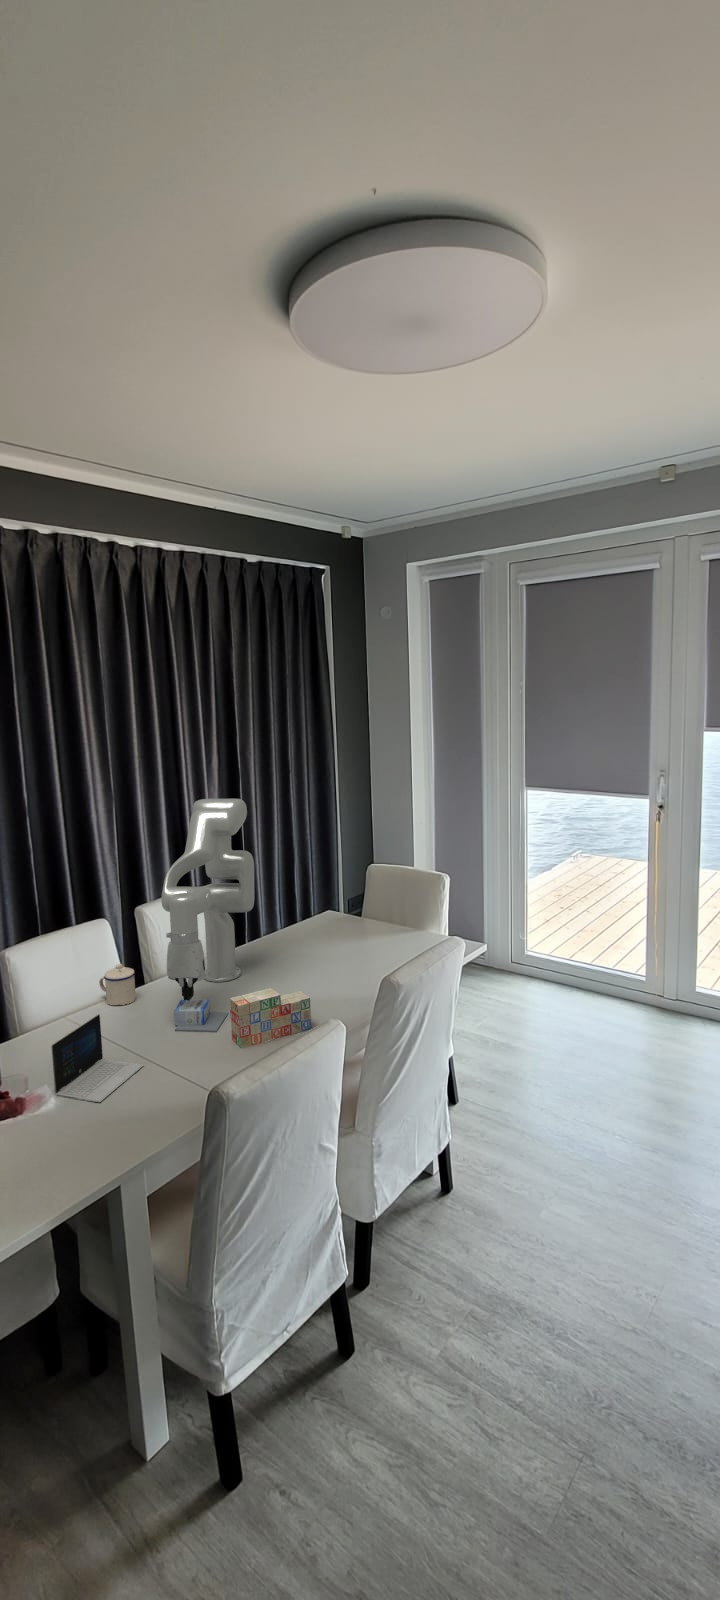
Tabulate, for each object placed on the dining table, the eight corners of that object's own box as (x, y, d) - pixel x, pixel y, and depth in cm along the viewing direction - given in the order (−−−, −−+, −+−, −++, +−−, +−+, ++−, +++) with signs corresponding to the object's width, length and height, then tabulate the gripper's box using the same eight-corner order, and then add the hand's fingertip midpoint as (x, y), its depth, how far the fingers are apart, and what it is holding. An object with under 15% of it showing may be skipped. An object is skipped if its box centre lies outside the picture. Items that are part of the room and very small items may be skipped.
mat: (188, 1013, 220) (188, 1011, 220) (228, 1013, 219) (228, 1012, 219) (174, 1031, 208) (174, 1029, 208) (216, 1032, 207) (216, 1030, 207)
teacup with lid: (142, 996, 233) (140, 961, 231) (124, 1008, 224) (122, 971, 223) (110, 992, 237) (107, 957, 235) (91, 1003, 228) (89, 967, 226)
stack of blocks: (301, 1021, 213) (300, 980, 212) (311, 1029, 208) (310, 987, 206) (231, 1040, 202) (229, 997, 201) (240, 1049, 197) (238, 1005, 195)
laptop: (100, 1104, 172) (96, 1051, 170) (54, 1097, 175) (50, 1045, 174) (144, 1067, 189) (141, 1018, 187) (102, 1061, 192) (98, 1013, 191)
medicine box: (180, 999, 218) (209, 998, 218) (181, 1013, 219) (210, 1013, 218) (173, 1010, 210) (204, 1010, 210) (174, 1025, 211) (204, 1025, 211)
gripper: (154, 941, 208) (158, 1003, 210) (206, 941, 206) (209, 1004, 209) (164, 932, 215) (167, 993, 217) (214, 933, 213) (217, 994, 216)
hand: (188, 998), depth 213 cm, fingers closed
